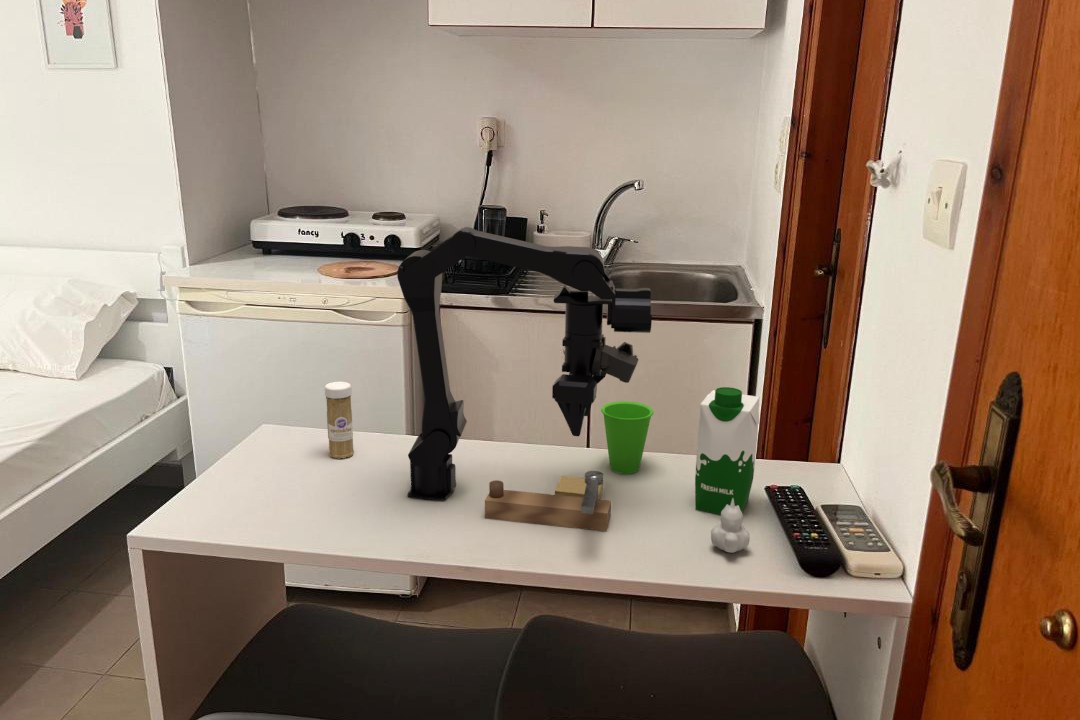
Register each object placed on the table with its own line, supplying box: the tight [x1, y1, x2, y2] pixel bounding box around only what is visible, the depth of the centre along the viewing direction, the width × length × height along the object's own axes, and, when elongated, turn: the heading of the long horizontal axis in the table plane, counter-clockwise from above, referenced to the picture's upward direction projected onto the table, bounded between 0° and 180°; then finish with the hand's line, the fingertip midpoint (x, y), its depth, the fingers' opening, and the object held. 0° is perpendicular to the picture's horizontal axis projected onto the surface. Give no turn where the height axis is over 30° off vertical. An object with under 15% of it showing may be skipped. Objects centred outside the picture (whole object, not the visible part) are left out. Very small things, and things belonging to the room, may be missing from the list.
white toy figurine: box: [710, 499, 751, 553], centre depth 121 cm, size 5×7×8 cm
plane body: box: [484, 480, 612, 532], centre depth 131 cm, size 19×4×7 cm, turn 78°
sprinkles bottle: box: [324, 381, 355, 459], centre depth 153 cm, size 5×5×14 cm
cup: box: [600, 400, 654, 475], centre depth 149 cm, size 9×9×11 cm
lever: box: [581, 470, 604, 514], centre depth 124 cm, size 12×3×1 cm, turn 172°
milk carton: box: [694, 386, 760, 516], centre depth 134 cm, size 9×9×20 cm
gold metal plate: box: [554, 475, 604, 500], centre depth 139 cm, size 7×6×2 cm
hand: (581, 425), depth 135 cm, fingers open, 9 cm apart
